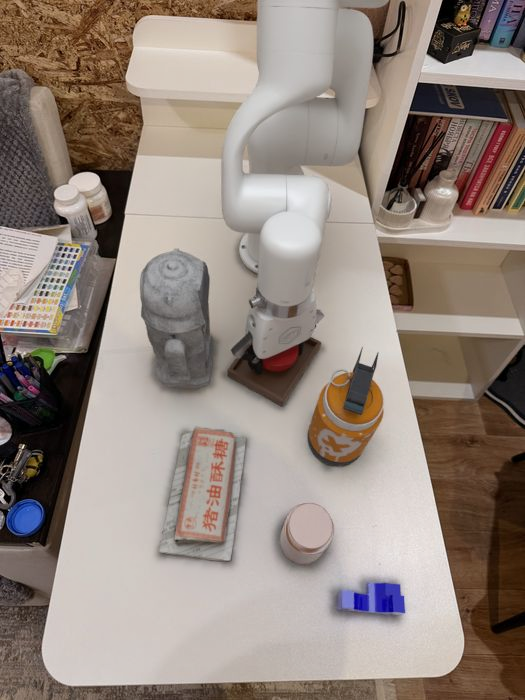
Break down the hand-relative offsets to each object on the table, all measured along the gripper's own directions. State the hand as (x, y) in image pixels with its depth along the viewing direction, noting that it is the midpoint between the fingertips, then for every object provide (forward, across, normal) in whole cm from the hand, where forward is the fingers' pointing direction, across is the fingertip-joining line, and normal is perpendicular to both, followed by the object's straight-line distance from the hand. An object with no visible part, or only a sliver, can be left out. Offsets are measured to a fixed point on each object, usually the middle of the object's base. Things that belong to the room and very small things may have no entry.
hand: (275, 357), depth 85 cm
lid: (-3, 0, 0) cm, 3 cm away
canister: (+2, +2, -16) cm, 16 cm away
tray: (+2, 0, 0) cm, 2 cm away
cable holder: (+2, -7, -37) cm, 38 cm away
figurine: (+2, -13, +8) cm, 15 cm away
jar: (+2, -11, -27) cm, 29 cm away
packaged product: (+2, -20, -14) cm, 25 cm away
